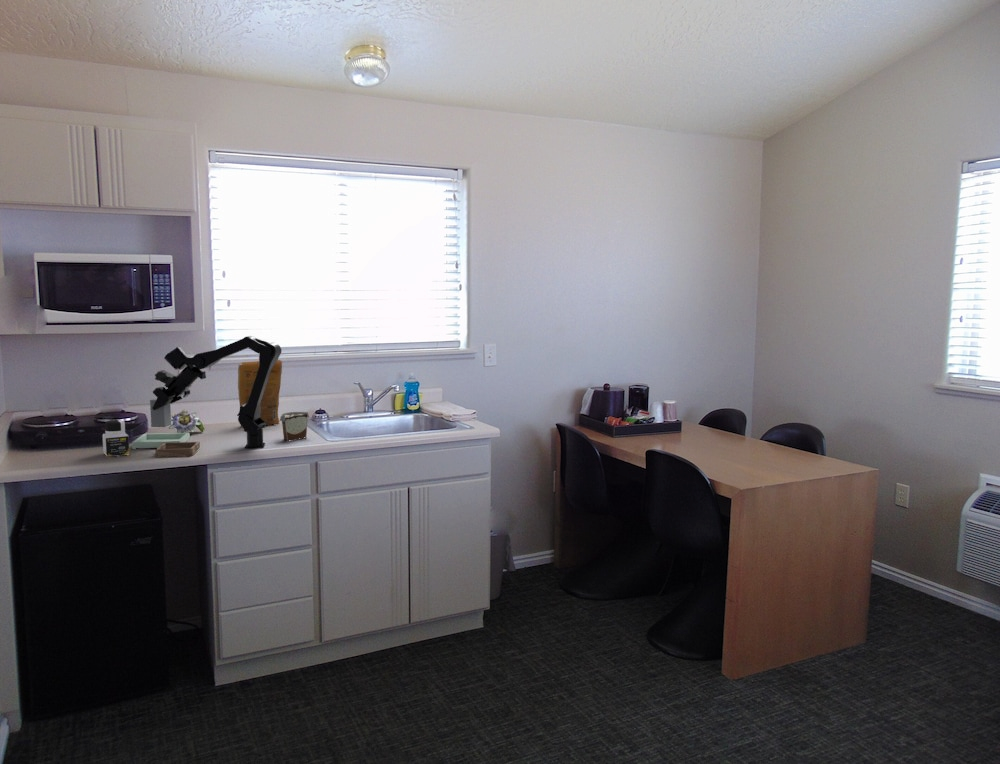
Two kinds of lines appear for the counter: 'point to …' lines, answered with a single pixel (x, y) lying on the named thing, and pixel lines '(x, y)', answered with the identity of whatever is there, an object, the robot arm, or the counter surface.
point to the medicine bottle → (115, 438)
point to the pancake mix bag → (271, 392)
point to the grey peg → (160, 415)
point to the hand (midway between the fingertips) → (156, 408)
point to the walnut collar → (177, 449)
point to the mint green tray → (159, 439)
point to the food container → (294, 425)
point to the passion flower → (186, 422)
